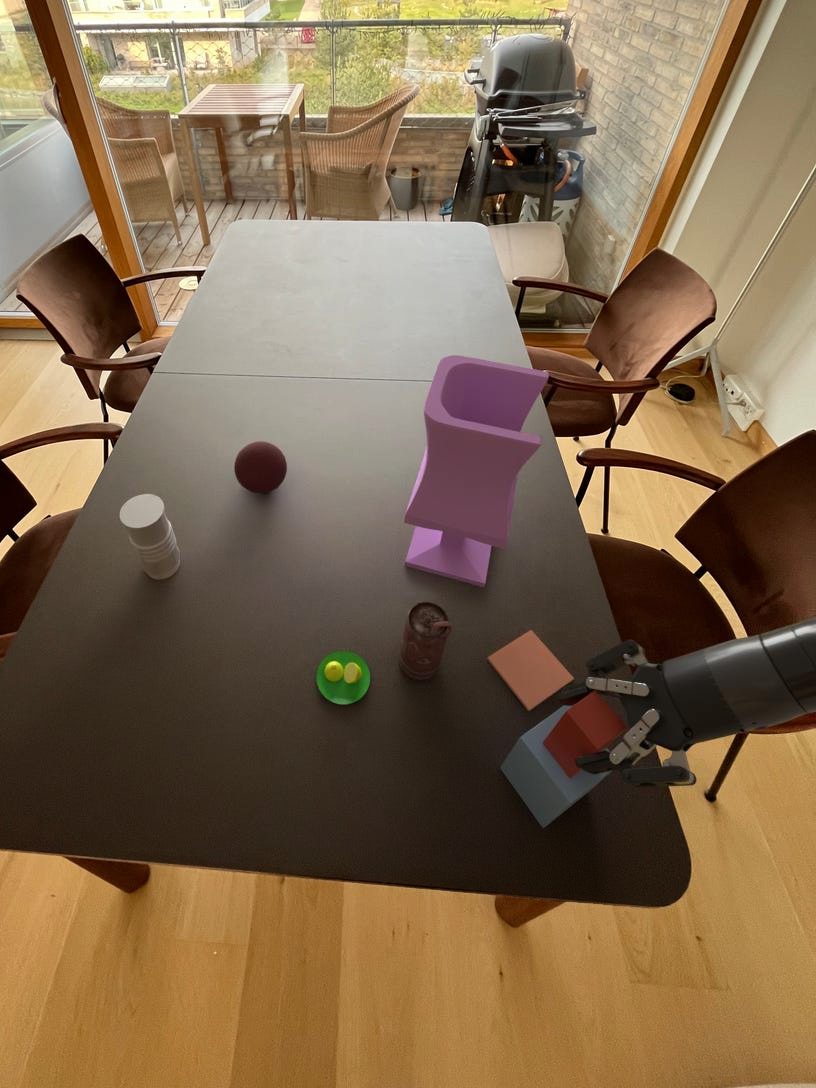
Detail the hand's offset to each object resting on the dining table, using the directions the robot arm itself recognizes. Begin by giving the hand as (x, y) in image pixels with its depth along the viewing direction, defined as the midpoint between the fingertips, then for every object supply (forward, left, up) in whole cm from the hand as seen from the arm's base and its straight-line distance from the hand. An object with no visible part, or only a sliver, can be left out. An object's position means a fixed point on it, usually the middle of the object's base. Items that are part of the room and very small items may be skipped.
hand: (570, 731), depth 62 cm
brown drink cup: (+20, +4, -18) cm, 28 cm away
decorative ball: (+65, +9, -18) cm, 68 cm away
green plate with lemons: (+24, +15, -18) cm, 34 cm away
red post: (-1, -1, -6) cm, 7 cm away
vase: (+35, -14, -18) cm, 42 cm away
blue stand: (-1, -1, -18) cm, 18 cm away
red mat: (+11, -10, -18) cm, 24 cm away
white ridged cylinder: (+57, +32, -18) cm, 68 cm away
